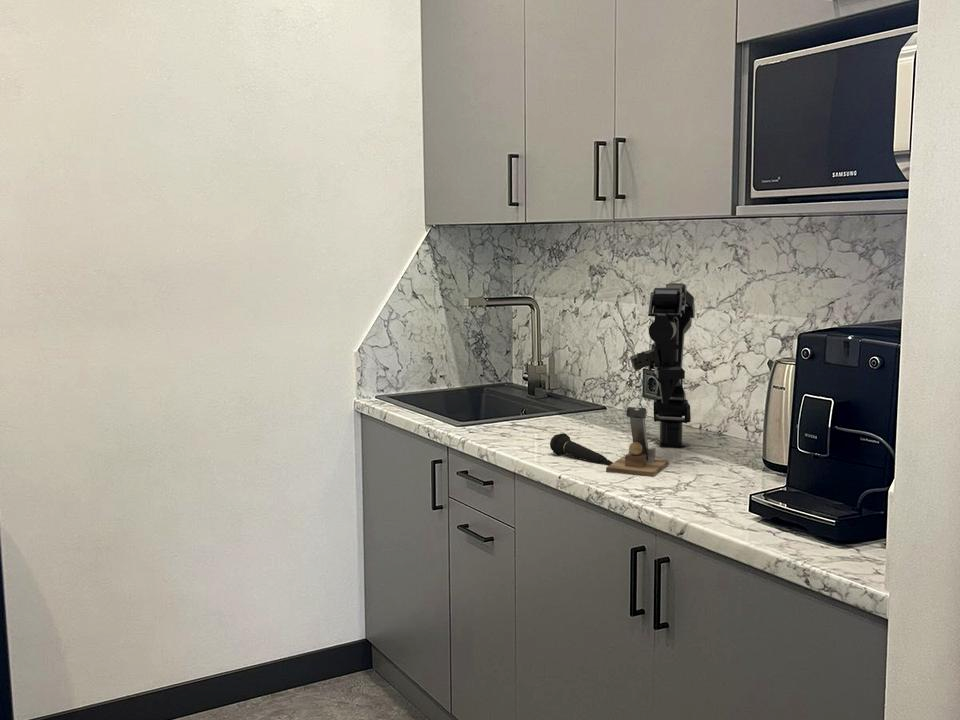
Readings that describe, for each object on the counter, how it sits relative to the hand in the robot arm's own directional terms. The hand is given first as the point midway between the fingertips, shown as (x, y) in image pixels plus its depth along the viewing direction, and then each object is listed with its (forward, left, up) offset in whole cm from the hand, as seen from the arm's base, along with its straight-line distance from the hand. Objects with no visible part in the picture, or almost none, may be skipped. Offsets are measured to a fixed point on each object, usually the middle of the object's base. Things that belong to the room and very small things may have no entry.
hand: (664, 403), depth 236 cm
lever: (+10, -6, -11) cm, 16 cm away
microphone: (+4, -21, -14) cm, 25 cm away
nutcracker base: (+13, -8, -13) cm, 20 cm away
